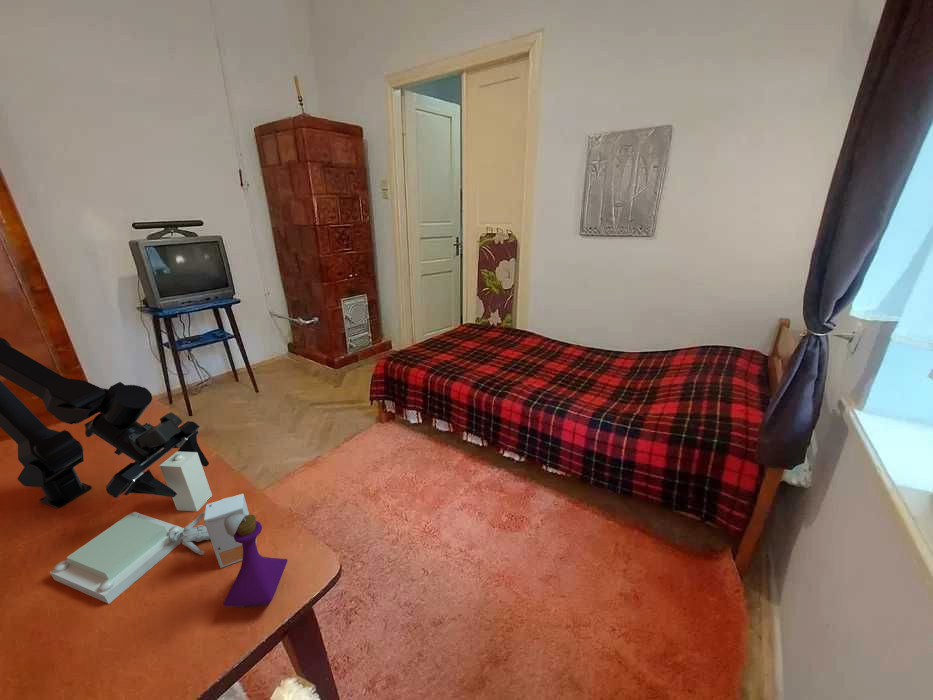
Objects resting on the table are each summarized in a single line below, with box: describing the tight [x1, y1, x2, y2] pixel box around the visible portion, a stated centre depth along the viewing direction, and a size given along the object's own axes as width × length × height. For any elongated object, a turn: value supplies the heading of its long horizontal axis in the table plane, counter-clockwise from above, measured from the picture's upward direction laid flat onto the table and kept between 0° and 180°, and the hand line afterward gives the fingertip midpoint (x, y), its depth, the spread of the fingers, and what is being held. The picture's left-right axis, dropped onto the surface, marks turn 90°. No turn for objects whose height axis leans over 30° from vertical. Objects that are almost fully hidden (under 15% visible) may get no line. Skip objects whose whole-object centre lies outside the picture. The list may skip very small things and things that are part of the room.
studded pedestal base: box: [49, 511, 185, 605], centre depth 70 cm, size 14×14×4 cm
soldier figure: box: [169, 510, 210, 556], centre depth 73 cm, size 8×5×12 cm
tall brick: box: [159, 450, 213, 512], centre depth 80 cm, size 5×5×13 cm
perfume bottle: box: [222, 513, 288, 608], centre depth 61 cm, size 8×8×18 cm
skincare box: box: [203, 493, 250, 569], centre depth 69 cm, size 6×4×12 cm
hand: (192, 479), depth 80 cm, fingers open, 9 cm apart
